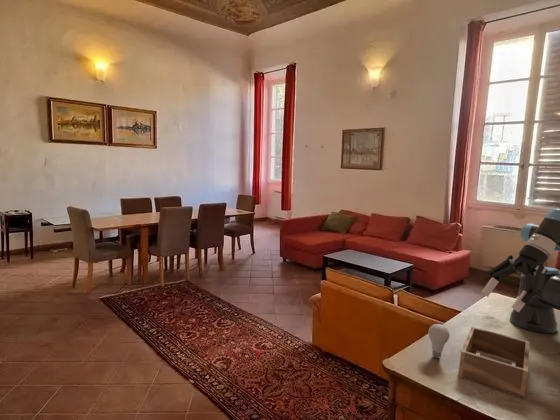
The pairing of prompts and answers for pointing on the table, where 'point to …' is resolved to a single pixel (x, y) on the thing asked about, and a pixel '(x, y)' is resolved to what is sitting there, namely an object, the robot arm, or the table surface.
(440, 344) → the lightbulb
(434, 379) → the table surface
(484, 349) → the crate
